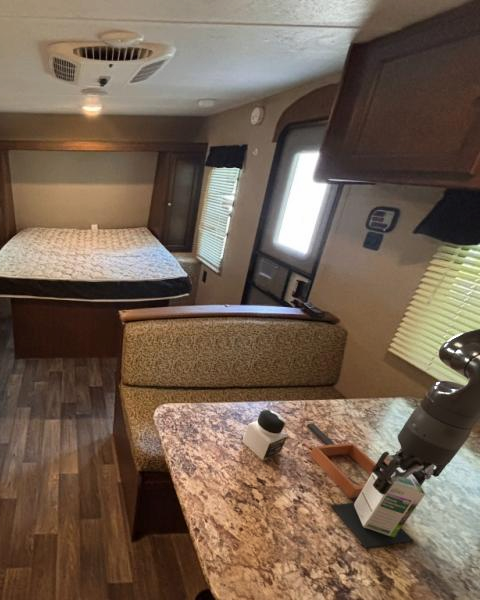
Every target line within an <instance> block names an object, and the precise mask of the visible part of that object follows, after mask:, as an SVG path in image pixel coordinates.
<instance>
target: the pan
mask: <svg viewBox="0 0 480 600" xmlns="http://www.w3.org/2000/svg"><path fill="white" fill-rule="evenodd" d="M306 428H307V429H308V430H309V431H310V432H311V433H312V434H313V435H314V436H315V437H316V438H317V439H318V440H319V441H320V442H321V443H322V444H323V445H314V446H313V448H312V450H311V451H310V453H309V456H310V457H311V458H312V459H313V460H314V461H315V463H316V464H317V465H318V466H319V467H320V468H321V469H322V470H323V471H324V472H325V474H327V476H328V477H329V478H330V479H331V480H332V481H333V482H334V483H335V484H336V485H337V486H338V487H339V489H341V491H342V492H343V493H344V494H345V495H346V496H347V497H348V498H349V499H357V498H358V496H359V495H360V493H361V491H362V490H363V488H364V486H365V485H366V484H361V485H355V484H354V483H353V481H351V480H350V479H349V478H348V477H347V475H345V474H344V472H342V471H341V469H340V468H339V467H338V466H337V465H336V464H335V463H334V462H333V461H332V460H331V459H330V458H329V456H340V455H341V456H342V455H348V456H350V458H352V459H353V461H355V462H356V463H357V464H358V465H359V466H360V467H361V468H362V469H363V470H364V471H365V472H366V473H368V474H369V476H371V474H372V473H373V472H372V470H373V468H374V466H375V465H376V463H377V462H375V461H374V460H373V459H372V458H371V457H369V456H368V455H367V454H366V453H365V452H364V451H363V450H361V449H360V448H359V447H358V446H357V444H355V443H354V442H346V443H345V442H344V443H335V442H334V441H333V440H332V439H331V438H329V437H328V435H326V434H325V433H324V432H323V431H322V430H321V429H320V428H319V427H318V426H317V425H316V424H315V423H313V422H312V423H311V422H310V423H307V424H306Z"/></svg>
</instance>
